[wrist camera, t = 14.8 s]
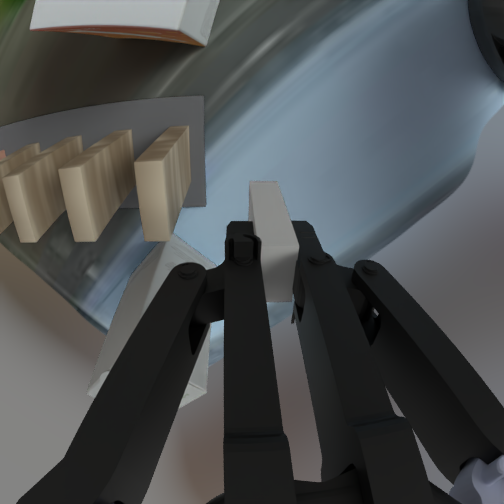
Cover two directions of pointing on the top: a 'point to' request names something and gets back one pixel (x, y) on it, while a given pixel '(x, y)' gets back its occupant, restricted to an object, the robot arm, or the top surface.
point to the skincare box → (135, 304)
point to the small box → (129, 18)
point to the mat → (121, 118)
